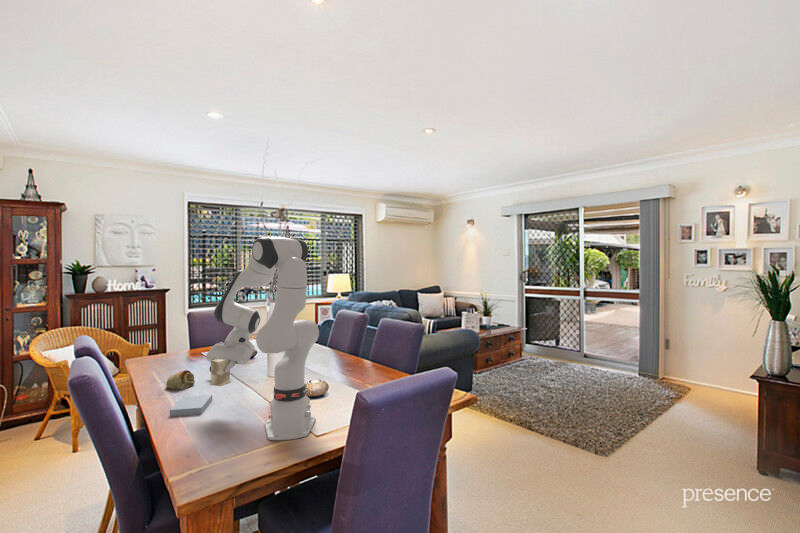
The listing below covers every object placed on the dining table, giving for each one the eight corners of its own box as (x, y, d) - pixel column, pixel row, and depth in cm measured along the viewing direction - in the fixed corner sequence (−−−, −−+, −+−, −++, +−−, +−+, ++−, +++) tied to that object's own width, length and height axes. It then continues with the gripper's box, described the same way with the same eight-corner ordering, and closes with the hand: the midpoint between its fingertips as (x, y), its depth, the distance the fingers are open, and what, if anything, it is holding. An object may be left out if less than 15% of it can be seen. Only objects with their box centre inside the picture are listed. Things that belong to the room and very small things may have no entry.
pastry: (193, 388, 197) (193, 372, 197) (164, 392, 192) (164, 375, 192) (195, 380, 210) (195, 365, 210) (168, 384, 205) (167, 368, 205)
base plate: (201, 414, 164) (201, 407, 164) (169, 417, 162) (169, 409, 162) (212, 401, 180) (212, 394, 180) (183, 403, 178) (183, 396, 178)
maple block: (230, 382, 168) (229, 358, 168) (221, 386, 163) (220, 361, 163) (220, 381, 170) (219, 358, 170) (211, 385, 165) (210, 360, 165)
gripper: (213, 337, 176) (195, 365, 167) (250, 339, 169) (234, 368, 160) (221, 345, 181) (204, 373, 171) (258, 348, 174) (242, 376, 164)
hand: (219, 371), depth 166 cm, fingers closed on maple block, 5 cm apart
